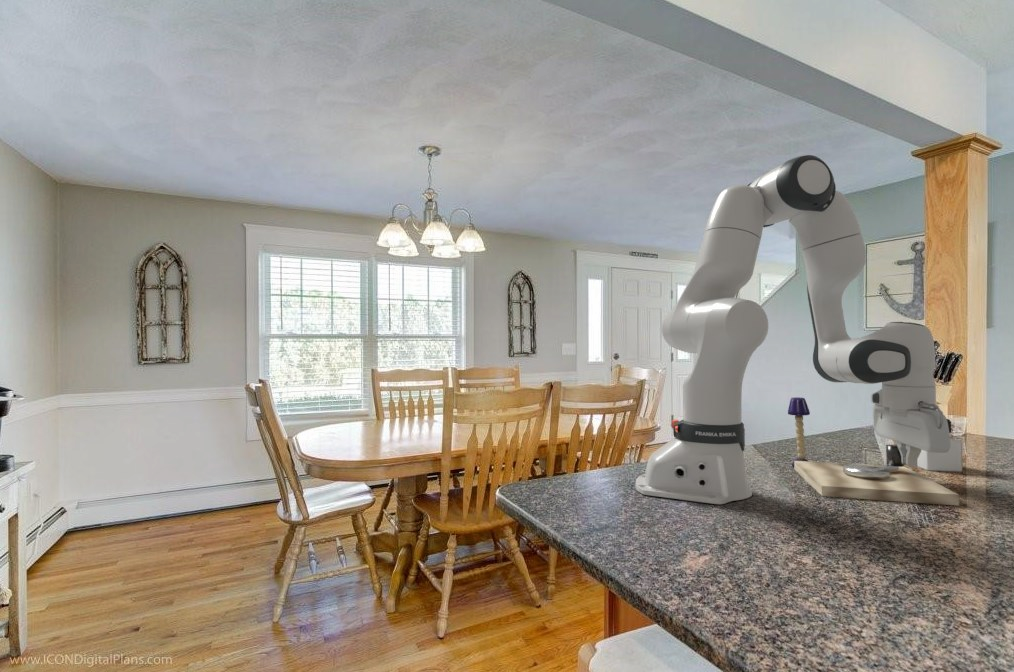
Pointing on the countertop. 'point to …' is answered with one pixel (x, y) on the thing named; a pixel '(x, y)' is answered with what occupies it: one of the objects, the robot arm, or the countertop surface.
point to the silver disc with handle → (877, 471)
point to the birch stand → (874, 484)
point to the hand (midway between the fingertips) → (909, 465)
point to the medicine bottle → (943, 457)
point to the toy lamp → (799, 424)
